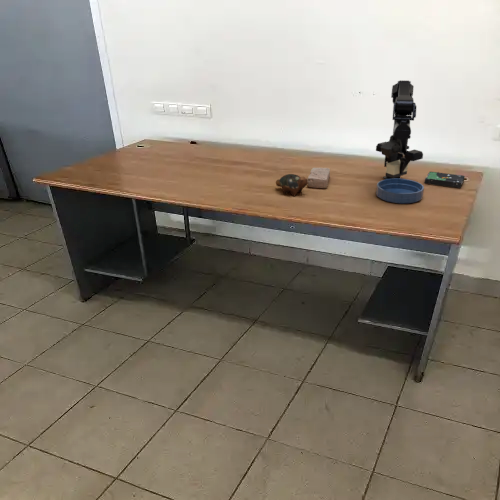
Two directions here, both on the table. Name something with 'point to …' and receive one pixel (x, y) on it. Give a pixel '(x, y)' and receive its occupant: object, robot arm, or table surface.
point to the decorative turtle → (292, 183)
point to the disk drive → (444, 179)
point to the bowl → (399, 190)
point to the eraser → (394, 169)
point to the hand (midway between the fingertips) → (396, 172)
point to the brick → (319, 177)
